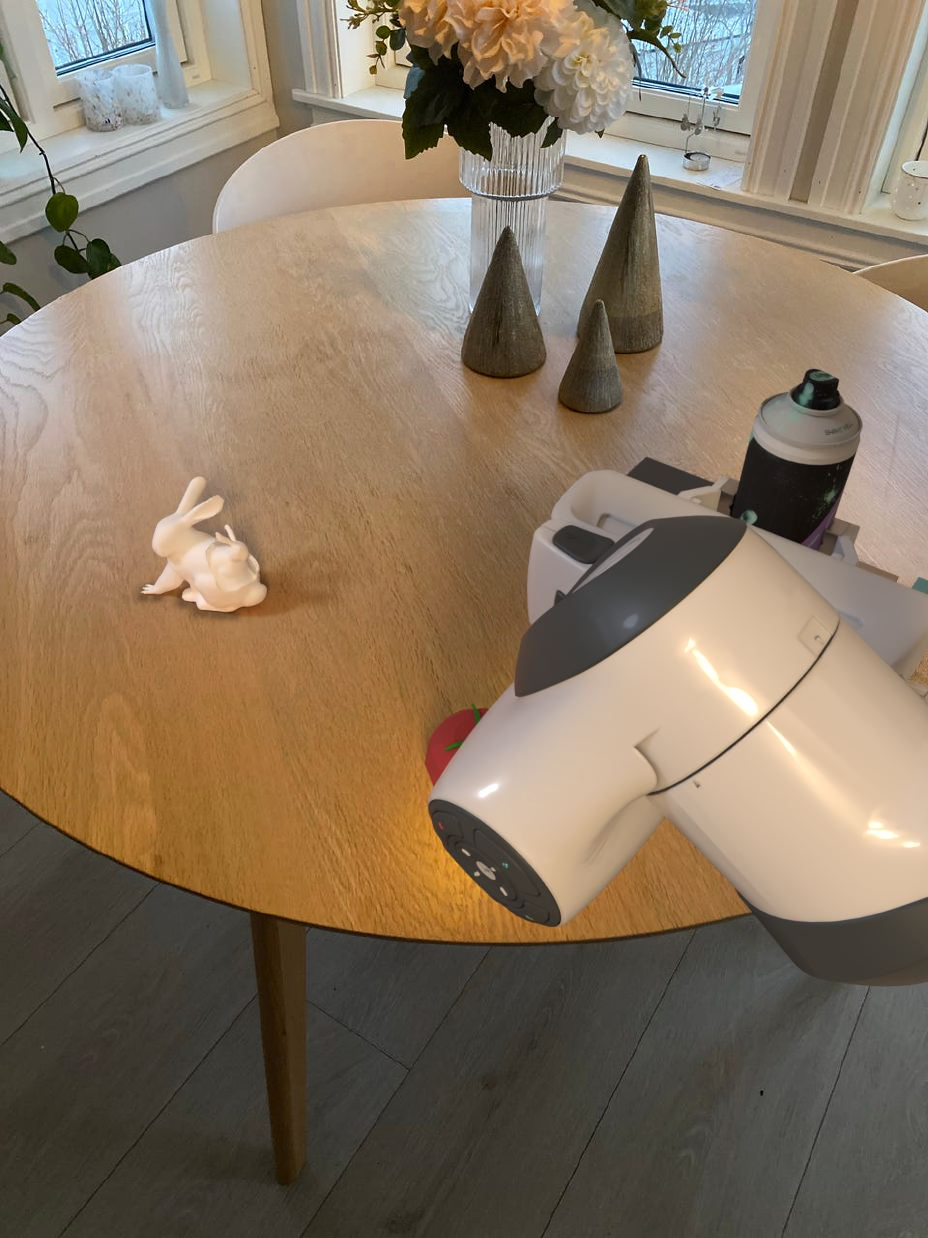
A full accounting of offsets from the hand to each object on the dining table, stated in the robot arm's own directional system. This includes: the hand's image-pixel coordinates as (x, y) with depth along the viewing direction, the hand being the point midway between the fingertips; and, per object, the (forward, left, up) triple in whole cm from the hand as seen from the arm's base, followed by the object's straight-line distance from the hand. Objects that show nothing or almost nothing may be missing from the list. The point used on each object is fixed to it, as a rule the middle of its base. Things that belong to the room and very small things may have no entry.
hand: (786, 509), depth 55 cm
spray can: (0, +1, -11) cm, 11 cm away
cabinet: (+11, -17, -26) cm, 33 cm away
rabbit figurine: (+46, +7, -26) cm, 54 cm away
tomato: (+13, +11, -26) cm, 31 cm away
